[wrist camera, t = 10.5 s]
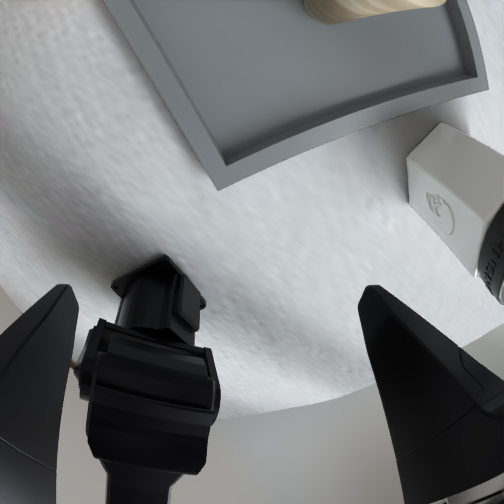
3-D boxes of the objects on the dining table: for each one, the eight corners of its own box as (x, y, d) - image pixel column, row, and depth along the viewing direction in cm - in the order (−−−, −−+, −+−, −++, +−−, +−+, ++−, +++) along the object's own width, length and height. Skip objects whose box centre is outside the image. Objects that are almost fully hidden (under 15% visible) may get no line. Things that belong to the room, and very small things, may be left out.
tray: (217, 178, 19) (217, 191, 18) (102, -16, 10) (90, -22, 8) (472, 84, 15) (488, 89, 14) (402, -90, 6) (416, -96, 4)
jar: (399, 130, 18) (521, 216, 8) (471, 114, 17) (581, 180, 7) (406, 225, 23) (482, 328, 14) (469, 201, 22) (548, 282, 13)
